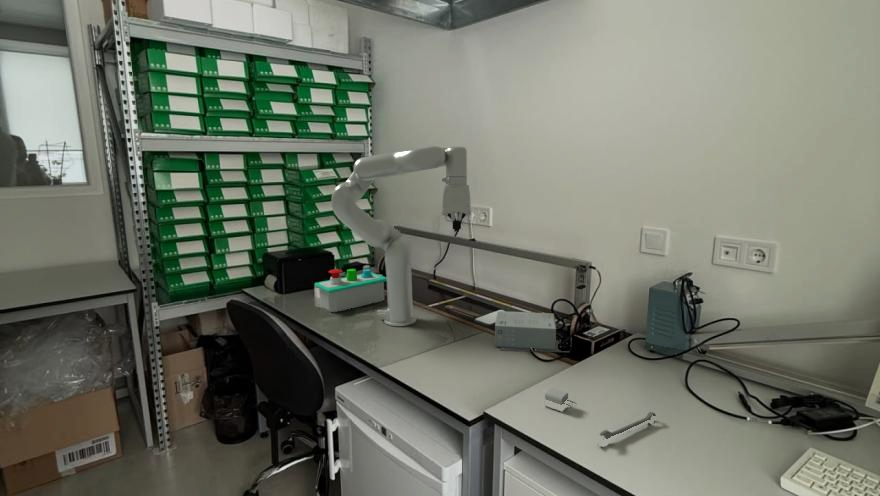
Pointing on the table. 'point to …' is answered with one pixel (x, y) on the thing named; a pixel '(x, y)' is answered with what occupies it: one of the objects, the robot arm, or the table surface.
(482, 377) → the table surface
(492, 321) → the phone case
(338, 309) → the control panel
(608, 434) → the combination wrench
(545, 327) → the hard drive box
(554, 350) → the mat
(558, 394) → the usb wall charger
